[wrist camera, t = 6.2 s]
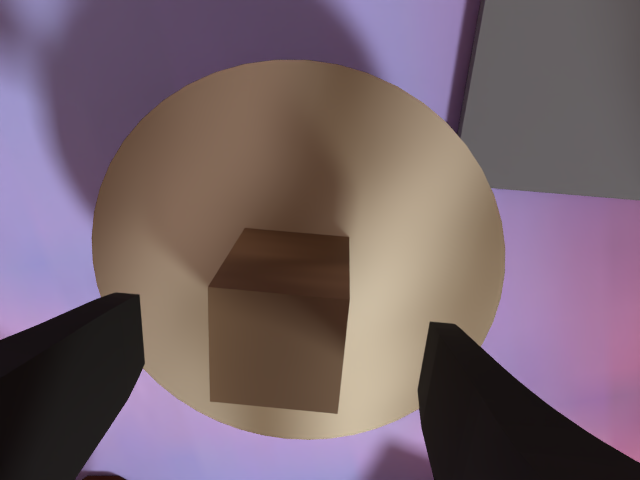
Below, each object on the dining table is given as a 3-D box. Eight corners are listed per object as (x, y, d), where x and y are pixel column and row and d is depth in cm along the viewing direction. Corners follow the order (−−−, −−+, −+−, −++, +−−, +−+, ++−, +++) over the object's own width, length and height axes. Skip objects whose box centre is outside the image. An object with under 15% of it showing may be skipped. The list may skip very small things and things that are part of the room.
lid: (541, 77, 13) (644, 85, 8) (458, 439, 18) (496, 568, 13) (82, 42, 13) (-53, 32, 9) (121, 406, 18) (45, 521, 13)
